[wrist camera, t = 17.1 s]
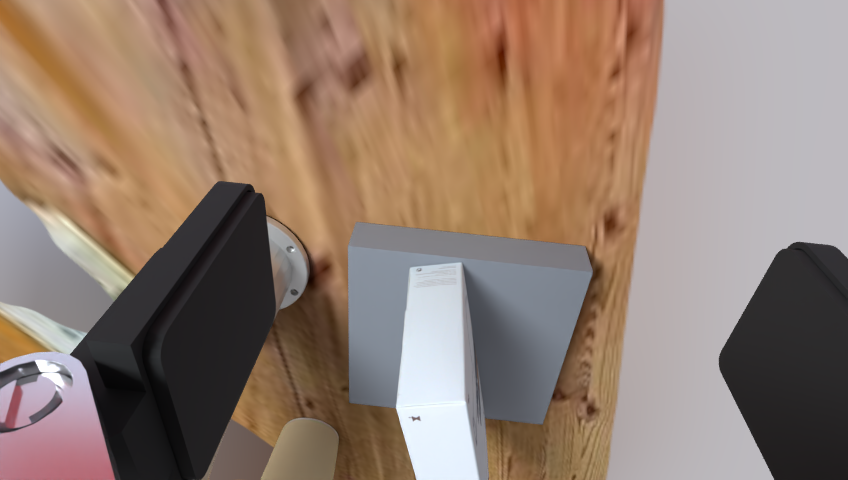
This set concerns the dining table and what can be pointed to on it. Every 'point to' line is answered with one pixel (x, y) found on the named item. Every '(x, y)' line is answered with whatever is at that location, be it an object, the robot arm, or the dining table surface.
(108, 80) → the dining table surface
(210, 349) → the robot arm
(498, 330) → the podium
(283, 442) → the coffee cup
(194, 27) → the dining table surface
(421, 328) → the skincare box
